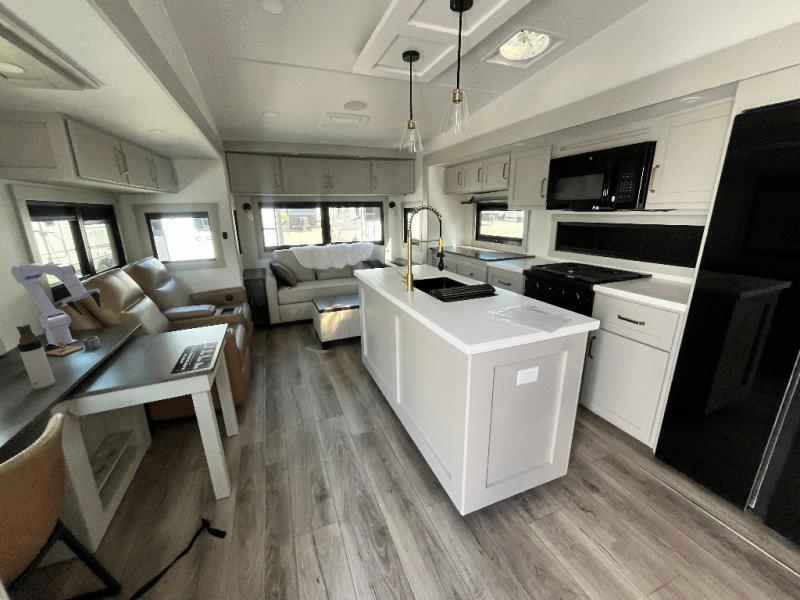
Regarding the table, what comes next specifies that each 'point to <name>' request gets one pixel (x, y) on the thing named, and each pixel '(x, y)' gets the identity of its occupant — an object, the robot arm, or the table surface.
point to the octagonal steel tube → (91, 342)
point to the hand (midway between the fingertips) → (91, 310)
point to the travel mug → (36, 364)
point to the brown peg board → (63, 349)
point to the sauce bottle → (26, 333)
